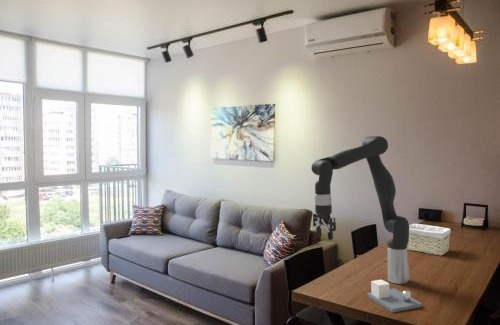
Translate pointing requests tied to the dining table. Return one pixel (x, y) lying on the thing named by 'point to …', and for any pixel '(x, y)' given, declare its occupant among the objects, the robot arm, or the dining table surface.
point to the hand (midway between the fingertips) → (324, 237)
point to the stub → (406, 296)
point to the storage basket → (428, 239)
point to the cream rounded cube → (380, 289)
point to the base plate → (395, 301)
